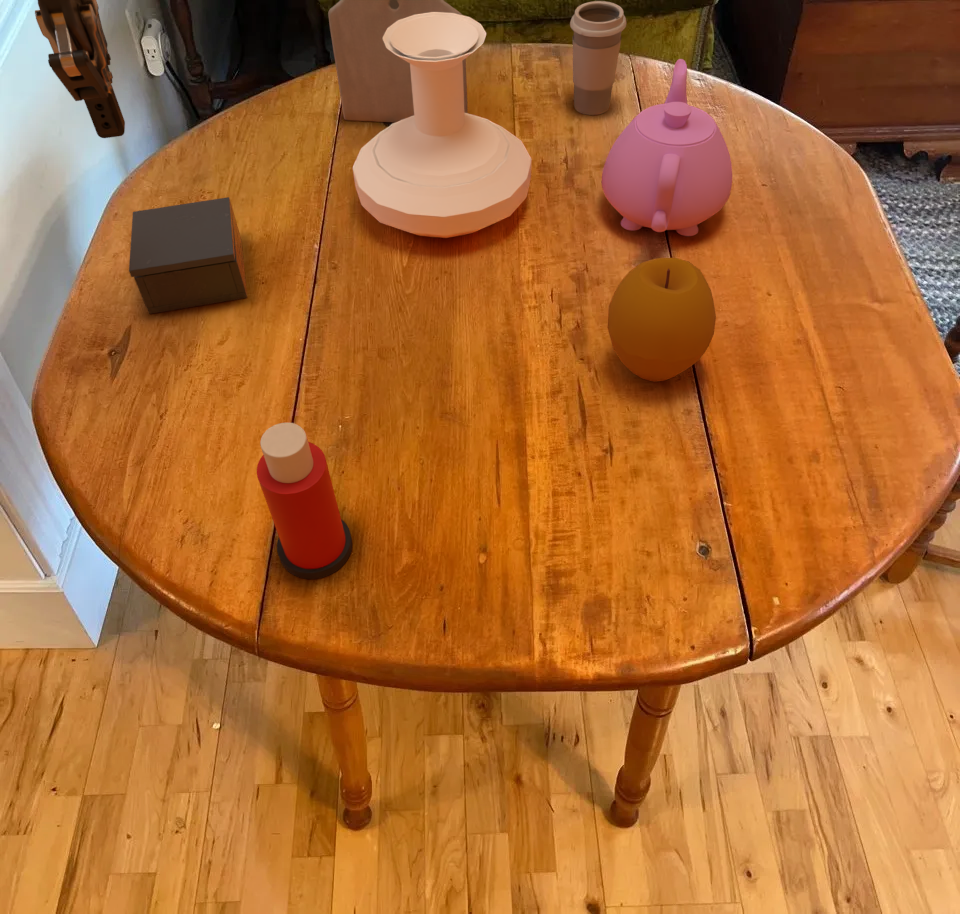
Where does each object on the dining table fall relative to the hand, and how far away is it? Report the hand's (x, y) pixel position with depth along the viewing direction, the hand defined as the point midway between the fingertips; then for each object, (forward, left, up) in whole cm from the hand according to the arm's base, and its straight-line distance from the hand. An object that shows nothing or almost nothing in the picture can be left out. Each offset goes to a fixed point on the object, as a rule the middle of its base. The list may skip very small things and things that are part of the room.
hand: (112, 132), depth 73 cm
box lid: (+2, +6, -16) cm, 17 cm away
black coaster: (+10, -31, -21) cm, 39 cm away
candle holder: (+30, +13, -21) cm, 39 cm away
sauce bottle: (+10, -31, -20) cm, 38 cm away
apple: (+44, -18, -21) cm, 52 cm away
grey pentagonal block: (+30, +35, -21) cm, 51 cm away
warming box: (+2, +7, -21) cm, 22 cm away
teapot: (+54, +6, -21) cm, 58 cm away
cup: (+53, +29, -21) cm, 64 cm away
